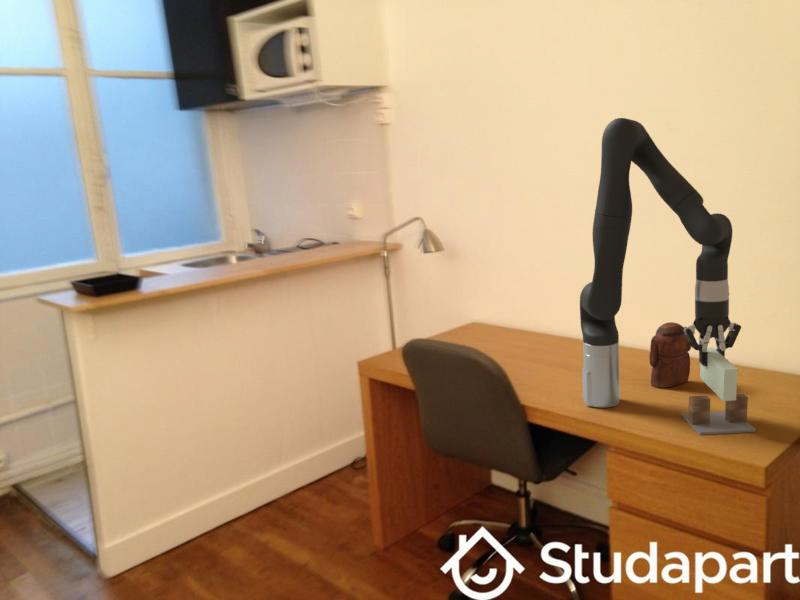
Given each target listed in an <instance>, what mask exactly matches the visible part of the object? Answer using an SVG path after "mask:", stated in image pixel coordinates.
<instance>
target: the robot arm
mask: <svg viewBox="0 0 800 600" xmlns="http://www.w3.org/2000/svg"><path fill="white" fill-rule="evenodd" d="M600 158H601V162H600V177H599V184H598V190H597V197H596V205H595V209H594V214H593V215H594V216H593V223H592V249H593V255H594V256H593V257H594V269H593V274H592V279H591V280H592V281H591V282H588V283H587V284H586V285H584V287H583V288H582V290H581V291H580V294H579V316H580V317H579V319H580V329H581V334H582V345H583V348H582V349H583V350H582V351H583V352H582V355H583V366H582V367H581V381H582V385H581V387H582V388H581V389H582V400H583V402H584V404H585V405H586V407H594V408H612V407H616V406H618V405H619V404H620V398H621V397H620V352H619V351H620V350H619V349H620V347H619V346H620V345H619V344H620V343H619V342H620V341H619V336H620V335H619V331H618V328H617V324H616V315H617V314H618V313H619V311H620V309H621V306H622V298H623V273H624V265H625V260H626V255H627V248H628V243H629V242H628V241H629V237H630V232H631V226H632V219H633V218H632V216H633V201H632V192H631V187H630V170H631V165H632V163H633V164H635V165H636V166H637V167H638V168H639V169H640V170H641V171H642V172H643V173H644V175H645V176H646V177H647V179H648V180H649V181H650V183H651V185H652V187H653V189H654V190H655V191H656V193H657V194H658V196H660V198H661V199H662V201H663V202H664V203H665V204H666V205H667V206H668V207H669V208H670V209H671V210H672V211H673V212H674V213H675V214H676V216H678V218H679V221H680V222H681V224H682V225H683V227H684V229H685V231H686V232H687V234H688V235H689V236H690V237H691V238H692V239H693V240H694V241H695V242H696V243H697V244H698V245H701V252H700V254H699V255H698V257H697V258H696V262H695V287H694V312H695V313H694V318H695V319H694V320H693V323H692V325H691V324H690V325H689V326H683V327H684V328H683V331H684V333H685V335H686V337H687V339H688V341H689V343H690V345H691V349H694V350H695V351H698V361H699V364H700V363H701V364H702V365H703V366H707V354H708V352H706V351H707V348H708V346H709V343H710V340H711V339H712V338H714V340H715V345H716V348H715V349H716V351H718V352H719V353H720V354H721V355H722V356H724V357H725V358H726V352H725V351H726V350H727V349H729V348H730V349H731V348H733V347H734V344H735V342H736V340H737V338H738V336H739V334H740V331H741V329H742V325H740V324H738V323H737V322H731V320H730V318H729V314H730V309H729V308H730V286H729V285H730V284H729V278H728V277H729V269H728V268H729V264H728V260H729V255H730V251H731V245H732V241H733V225H732V222H731V220H730V218H729V217H728V216H726V215H725V214H722V213H718V212H717V213H710V212H709V210H708V209H707V208H706V207H705V205H704V198H703V196H702V195H701V193H700V192H698V190H697V189H695V187H693V185H692V184H691V183H690V182H689V181H688V180H687V179H686V177H684V176H683V174H681V173H680V172H679V171H678V170H677V169H676V168H675V167H674V166H673V164H672V163H670V161H669V160H668V159H667V158H666V157H665V156H664V154H663V153H662V152H661V150H660V149H659V148H658V146H657V145H656V143H655V142H654V140H653V139H652V137H651V136H650V134H649V132H648V130H646V128H645V126H644V125H643V124H642V123H641V122H639V121H637V120H635V119H629V118H625V117H617V118H614V119H613V120H611V121H610V122H609V123H608V124H607V125H606V126H605V129H604V130H603V132H602V138H601V157H600ZM727 330H728V332H727V335H726V337H725V334H724V333H726V331H727ZM696 331H697V332H698V333H699V335H698V342H697V339H696V337H695V333H696Z"/></svg>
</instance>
